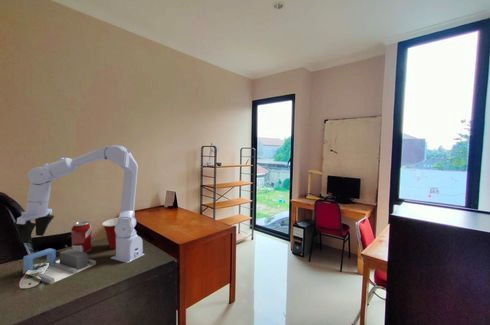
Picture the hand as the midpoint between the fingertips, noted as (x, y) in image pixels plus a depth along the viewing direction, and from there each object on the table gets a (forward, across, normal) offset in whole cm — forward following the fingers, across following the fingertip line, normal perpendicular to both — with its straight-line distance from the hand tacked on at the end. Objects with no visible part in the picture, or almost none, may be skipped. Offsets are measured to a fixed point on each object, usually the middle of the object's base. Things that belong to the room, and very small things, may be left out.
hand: (32, 238), depth 81 cm
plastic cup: (+7, -15, +24) cm, 29 cm away
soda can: (+9, -12, +12) cm, 19 cm away
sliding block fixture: (+9, +3, +12) cm, 15 cm away
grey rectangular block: (+8, +1, +15) cm, 17 cm away
